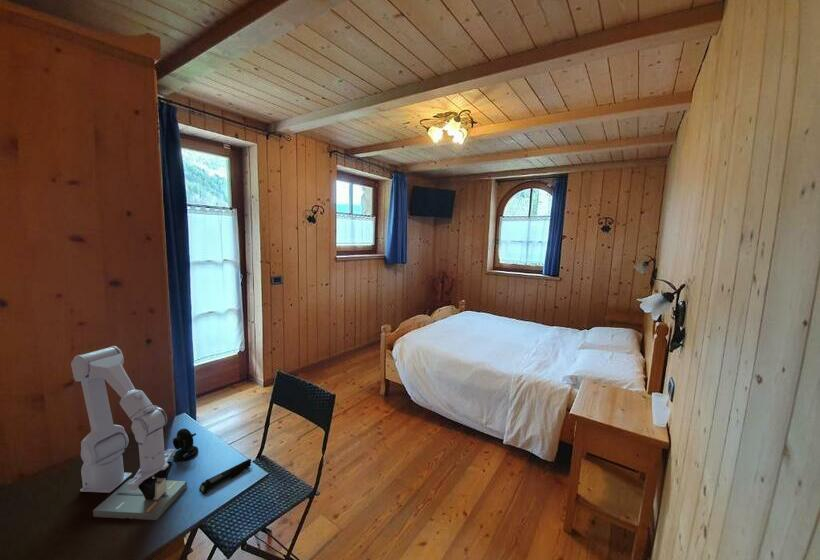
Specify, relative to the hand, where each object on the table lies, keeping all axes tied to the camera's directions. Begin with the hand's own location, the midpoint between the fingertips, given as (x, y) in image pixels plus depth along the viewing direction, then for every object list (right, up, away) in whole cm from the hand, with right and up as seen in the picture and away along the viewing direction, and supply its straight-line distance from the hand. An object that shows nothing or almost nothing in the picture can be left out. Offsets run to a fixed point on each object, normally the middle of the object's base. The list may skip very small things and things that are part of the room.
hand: (155, 493), depth 96 cm
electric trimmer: (+15, -2, +10) cm, 18 cm away
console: (-4, -3, 0) cm, 5 cm away
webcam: (-5, 0, +21) cm, 21 cm away
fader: (0, 0, 0) cm, 0 cm away
